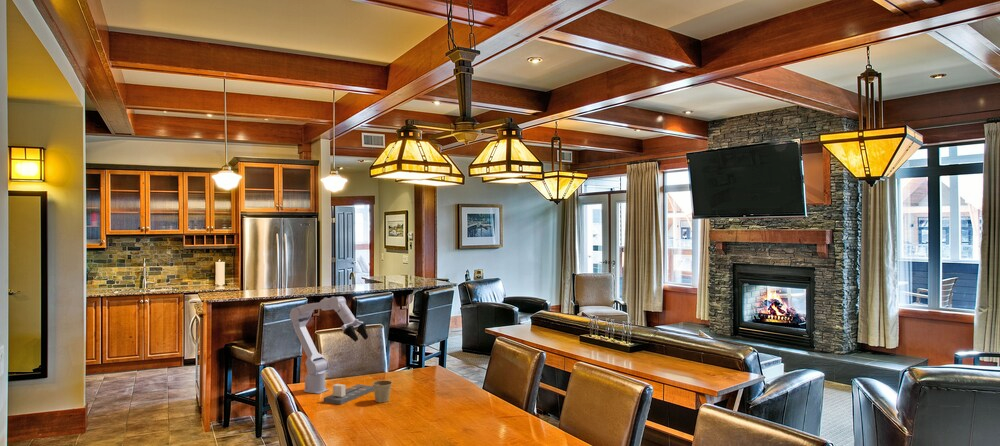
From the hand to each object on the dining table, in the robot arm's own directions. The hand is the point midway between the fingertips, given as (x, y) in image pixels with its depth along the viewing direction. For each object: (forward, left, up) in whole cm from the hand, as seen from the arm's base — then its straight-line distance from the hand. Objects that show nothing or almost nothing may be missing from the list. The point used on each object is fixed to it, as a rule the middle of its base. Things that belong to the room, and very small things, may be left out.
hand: (361, 339), depth 276 cm
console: (-8, +1, -29) cm, 30 cm away
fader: (-8, -7, -26) cm, 28 cm away
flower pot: (+11, +1, -29) cm, 31 cm away
